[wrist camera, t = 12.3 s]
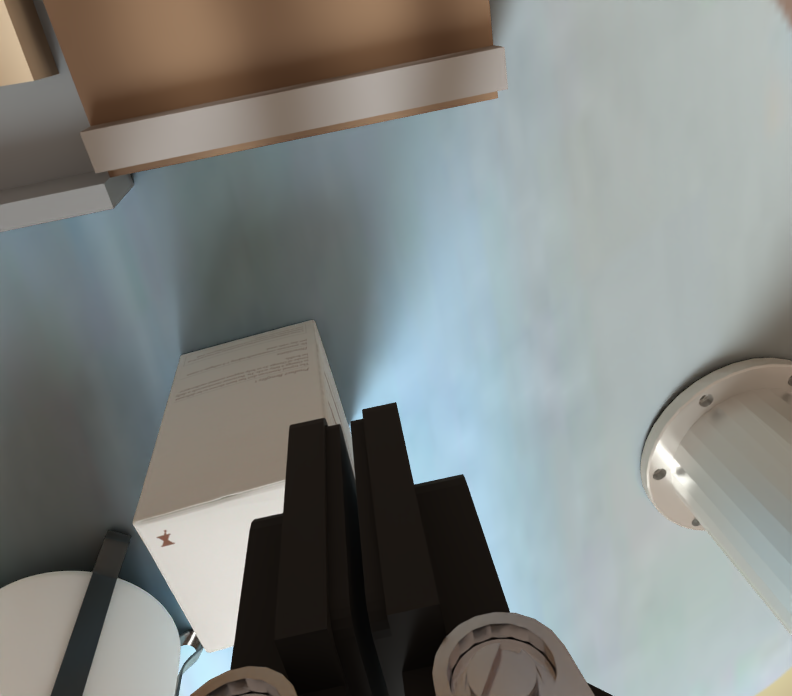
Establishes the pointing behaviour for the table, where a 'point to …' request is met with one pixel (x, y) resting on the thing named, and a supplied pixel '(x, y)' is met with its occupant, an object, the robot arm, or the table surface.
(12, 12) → the beige block
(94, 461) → the table surface
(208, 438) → the supplement box
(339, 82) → the slot block
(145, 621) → the coffee press
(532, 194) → the table surface
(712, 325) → the table surface
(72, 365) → the table surface
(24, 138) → the tray
